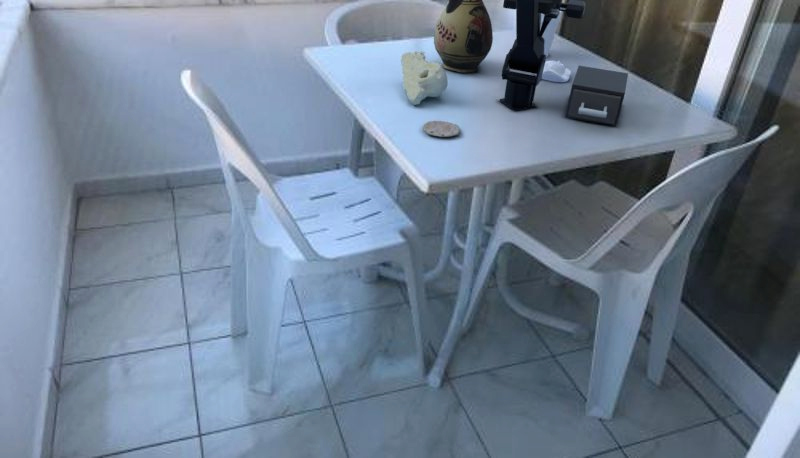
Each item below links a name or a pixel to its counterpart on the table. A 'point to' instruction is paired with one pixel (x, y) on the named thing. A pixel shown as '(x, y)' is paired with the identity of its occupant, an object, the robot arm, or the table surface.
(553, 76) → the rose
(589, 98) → the drawer
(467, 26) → the ceramic jug
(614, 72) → the mini drawer cabinet
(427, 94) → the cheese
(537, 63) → the robot arm
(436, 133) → the flatbread
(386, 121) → the table surface
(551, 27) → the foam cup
